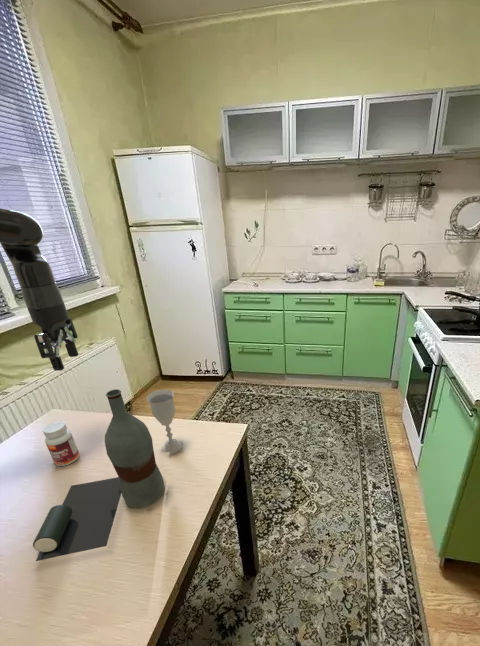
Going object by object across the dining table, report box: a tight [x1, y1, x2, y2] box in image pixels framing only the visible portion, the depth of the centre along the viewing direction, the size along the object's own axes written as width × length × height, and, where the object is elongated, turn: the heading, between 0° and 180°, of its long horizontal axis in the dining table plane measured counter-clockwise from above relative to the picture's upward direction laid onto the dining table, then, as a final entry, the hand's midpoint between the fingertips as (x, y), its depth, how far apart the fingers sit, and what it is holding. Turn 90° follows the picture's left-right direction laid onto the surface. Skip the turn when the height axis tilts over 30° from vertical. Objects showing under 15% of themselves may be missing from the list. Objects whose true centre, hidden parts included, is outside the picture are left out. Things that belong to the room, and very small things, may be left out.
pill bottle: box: [42, 421, 80, 467], centre depth 90 cm, size 6×6×11 cm
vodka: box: [104, 389, 165, 509], centre depth 72 cm, size 9×9×30 cm
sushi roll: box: [32, 504, 72, 553], centre depth 68 cm, size 4×8×4 cm, turn 13°
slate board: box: [35, 476, 122, 562], centre depth 74 cm, size 13×20×2 cm, turn 13°
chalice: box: [145, 389, 183, 455], centre depth 91 cm, size 7×7×18 cm
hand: (67, 362), depth 86 cm, fingers open, 8 cm apart
